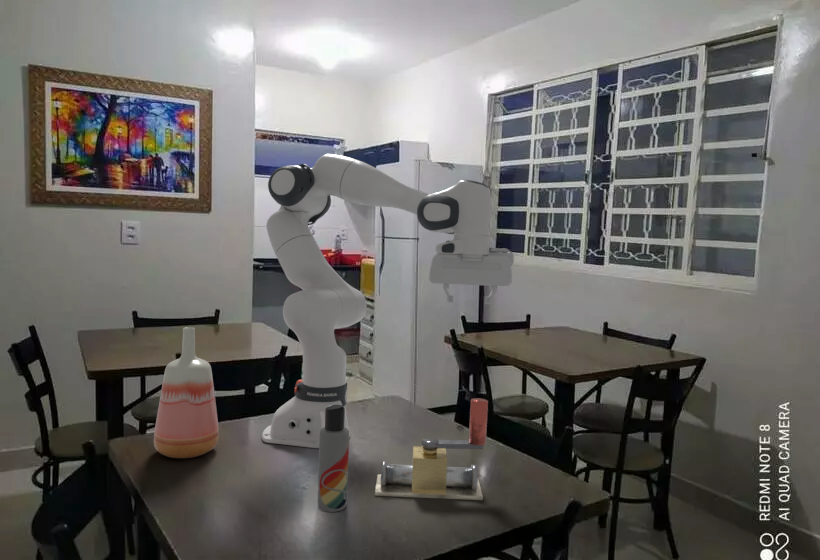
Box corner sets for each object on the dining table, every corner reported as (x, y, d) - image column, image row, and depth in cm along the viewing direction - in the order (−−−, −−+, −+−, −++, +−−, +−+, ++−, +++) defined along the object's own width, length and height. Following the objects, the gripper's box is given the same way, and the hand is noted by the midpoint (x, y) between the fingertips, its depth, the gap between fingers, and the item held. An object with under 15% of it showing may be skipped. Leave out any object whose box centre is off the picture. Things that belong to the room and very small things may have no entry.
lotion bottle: (341, 514, 115) (344, 411, 113) (313, 510, 116) (316, 408, 114) (350, 501, 120) (353, 403, 119) (323, 498, 121) (326, 400, 120)
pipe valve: (374, 495, 123) (376, 453, 123) (377, 477, 132) (379, 438, 132) (482, 500, 123) (484, 458, 123) (478, 482, 132) (479, 442, 131)
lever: (422, 449, 125) (424, 401, 124) (420, 443, 129) (422, 397, 128) (487, 450, 126) (489, 403, 125) (483, 444, 130) (486, 398, 129)
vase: (214, 438, 153) (216, 322, 150) (222, 458, 140) (225, 332, 137) (152, 445, 146) (153, 324, 144) (155, 467, 133) (156, 334, 131)
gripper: (512, 248, 151) (509, 303, 152) (430, 245, 151) (428, 300, 152) (516, 248, 144) (513, 306, 145) (430, 245, 145) (428, 303, 146)
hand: (469, 303), depth 149 cm, fingers open, 8 cm apart
